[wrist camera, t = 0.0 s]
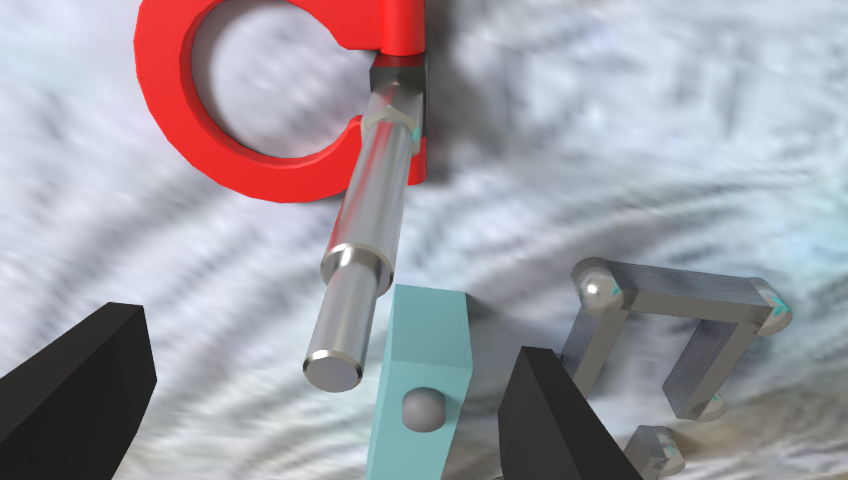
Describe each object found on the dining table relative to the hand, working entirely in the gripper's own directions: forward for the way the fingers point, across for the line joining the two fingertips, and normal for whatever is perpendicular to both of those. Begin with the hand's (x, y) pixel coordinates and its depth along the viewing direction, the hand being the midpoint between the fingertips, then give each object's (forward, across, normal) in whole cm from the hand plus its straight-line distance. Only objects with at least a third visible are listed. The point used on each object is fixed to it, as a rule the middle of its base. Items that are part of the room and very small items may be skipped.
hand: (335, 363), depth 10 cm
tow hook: (+10, +3, -2) cm, 11 cm away
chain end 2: (+10, -13, +7) cm, 18 cm away
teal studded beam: (+10, -3, +12) cm, 16 cm away
